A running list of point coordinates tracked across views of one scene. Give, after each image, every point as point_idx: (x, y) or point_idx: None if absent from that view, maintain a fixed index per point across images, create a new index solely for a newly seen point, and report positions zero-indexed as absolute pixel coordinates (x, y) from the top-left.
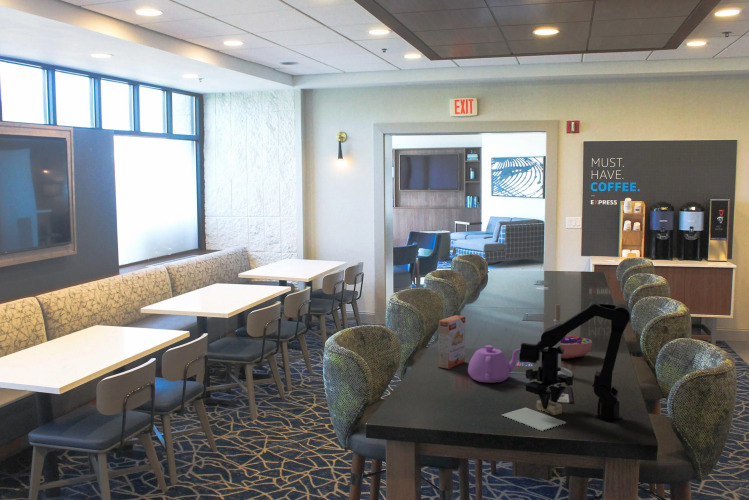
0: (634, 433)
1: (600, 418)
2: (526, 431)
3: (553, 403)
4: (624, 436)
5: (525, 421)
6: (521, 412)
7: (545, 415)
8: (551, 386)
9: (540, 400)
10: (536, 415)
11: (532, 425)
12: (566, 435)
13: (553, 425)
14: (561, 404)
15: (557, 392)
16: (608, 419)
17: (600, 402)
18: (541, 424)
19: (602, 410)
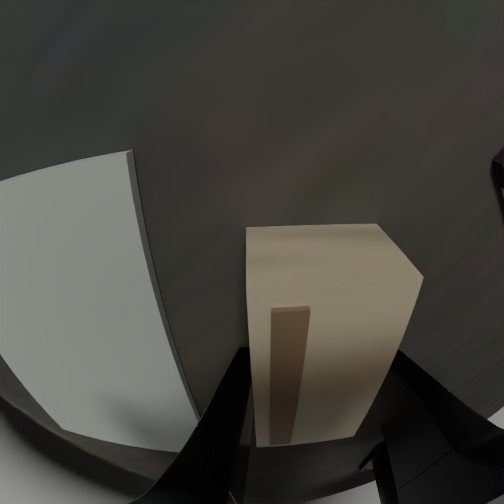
0: (321, 492)
1: (371, 455)
2: (13, 390)
3: (332, 412)
4: (283, 496)
5: (17, 360)
6: (25, 253)
7: (170, 389)
8: (479, 500)
9: (298, 322)
10: (106, 359)
11: (38, 397)
12: (135, 464)
13: (129, 443)
14: (354, 433)
15: (409, 491)
16: (370, 466)
17: (398, 500)
18: (80, 416)
19: (381, 483)
